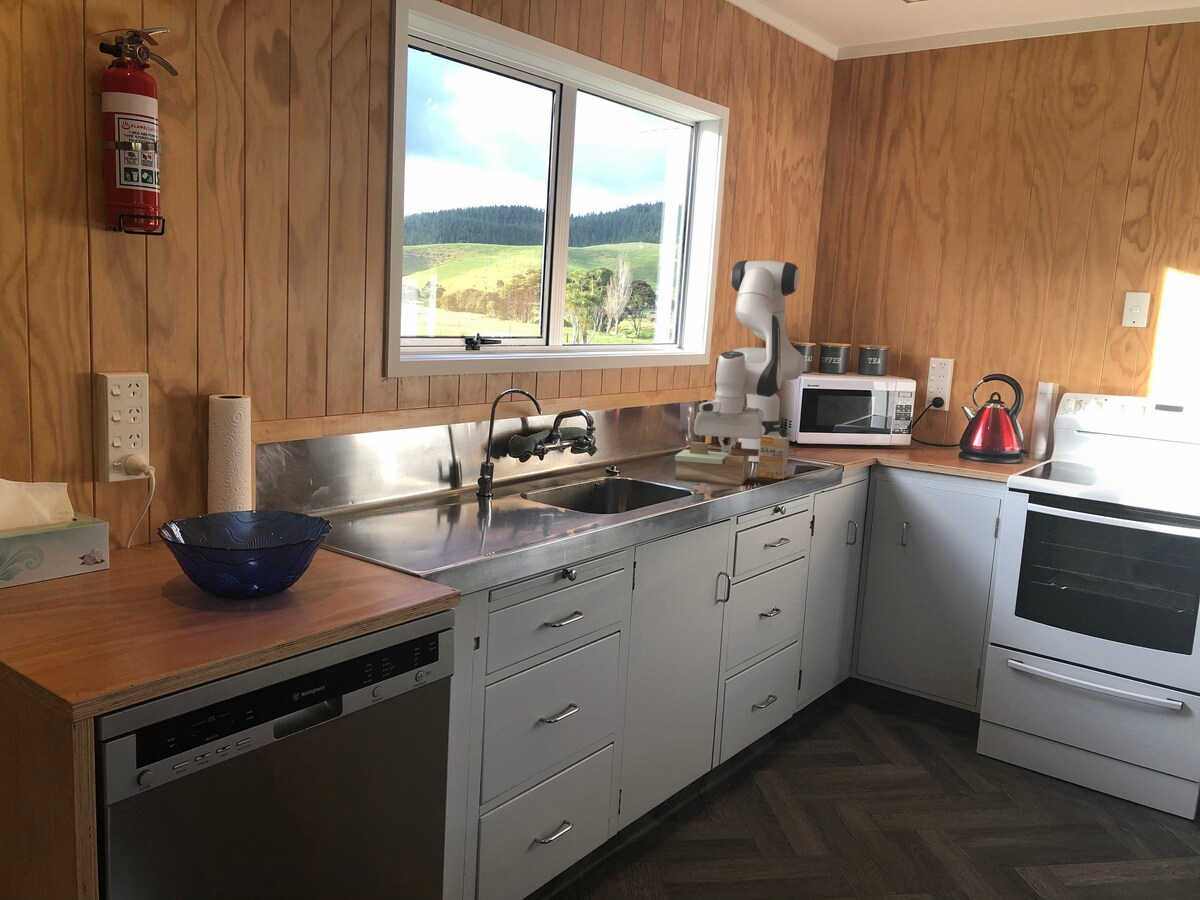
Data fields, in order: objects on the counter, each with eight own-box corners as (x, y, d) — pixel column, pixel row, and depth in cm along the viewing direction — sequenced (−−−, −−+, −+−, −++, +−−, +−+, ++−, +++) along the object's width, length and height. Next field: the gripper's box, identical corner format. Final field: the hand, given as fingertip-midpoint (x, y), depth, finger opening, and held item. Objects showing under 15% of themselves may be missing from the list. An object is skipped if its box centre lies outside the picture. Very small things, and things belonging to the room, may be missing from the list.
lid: (683, 454, 303) (684, 439, 302) (729, 457, 299) (730, 442, 298) (674, 460, 290) (675, 445, 289) (722, 464, 286) (723, 448, 285)
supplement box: (757, 477, 301) (759, 435, 299) (761, 475, 305) (764, 434, 303) (782, 480, 297) (785, 438, 295) (787, 478, 301) (789, 436, 299)
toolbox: (684, 472, 304) (685, 446, 302) (747, 478, 298) (749, 451, 297) (675, 480, 290) (676, 452, 289) (741, 485, 285) (742, 457, 284)
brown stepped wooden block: (731, 453, 290) (732, 441, 290) (758, 455, 288) (759, 443, 287) (730, 454, 288) (731, 442, 287) (757, 456, 286) (758, 444, 285)
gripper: (765, 407, 287) (762, 453, 290) (697, 403, 293) (695, 447, 295) (762, 409, 282) (759, 456, 284) (694, 405, 287) (691, 450, 289)
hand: (726, 451), depth 289 cm, fingers closed
